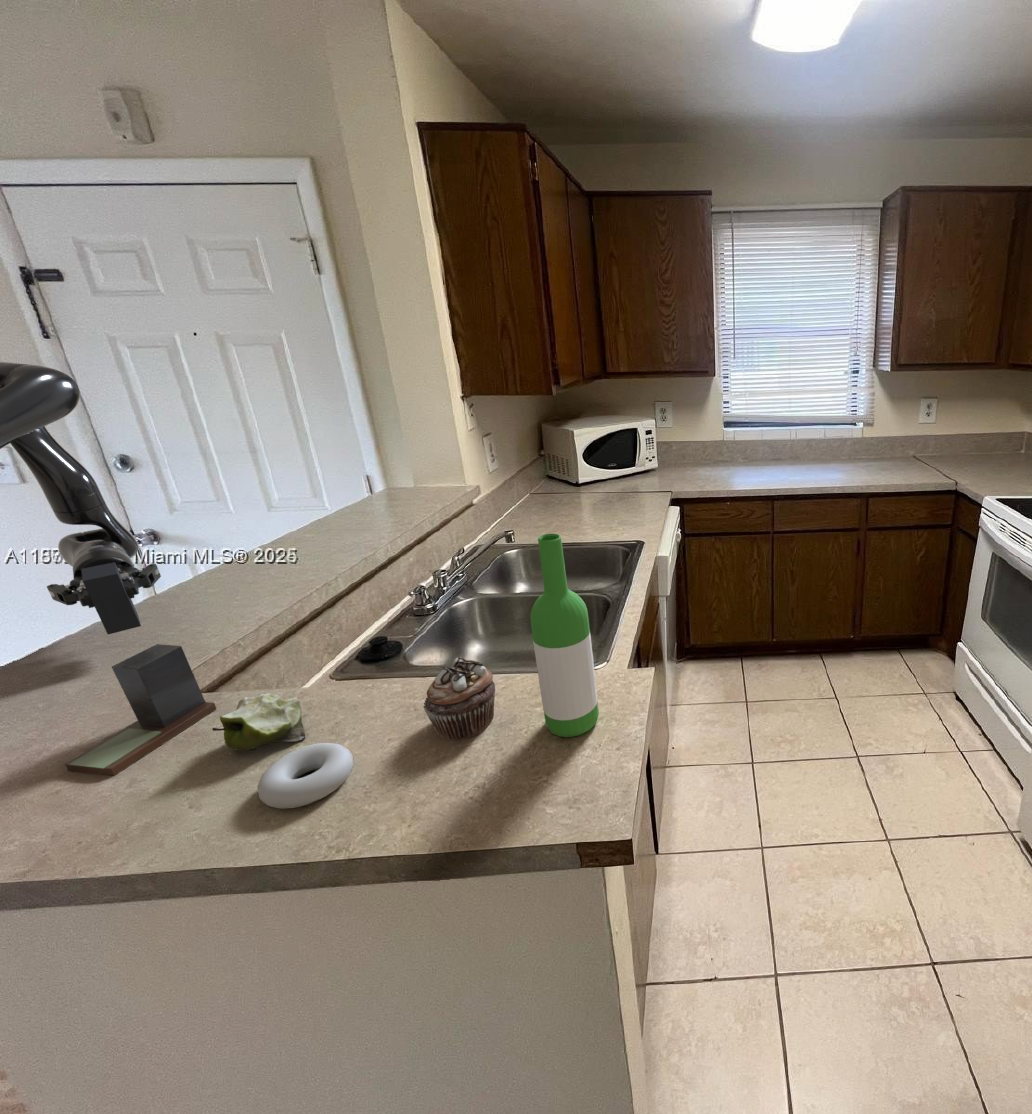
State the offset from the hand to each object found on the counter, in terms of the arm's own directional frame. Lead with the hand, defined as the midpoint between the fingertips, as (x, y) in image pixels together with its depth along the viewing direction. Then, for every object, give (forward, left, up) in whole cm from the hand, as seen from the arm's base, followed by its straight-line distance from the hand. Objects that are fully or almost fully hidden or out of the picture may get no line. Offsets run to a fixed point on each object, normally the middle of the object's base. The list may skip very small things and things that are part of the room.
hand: (110, 597), depth 95 cm
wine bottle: (+82, -6, -12) cm, 83 cm away
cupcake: (+66, -8, -12) cm, 67 cm away
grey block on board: (+23, -17, -12) cm, 31 cm away
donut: (+53, -22, -12) cm, 59 cm away
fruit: (+40, -15, -12) cm, 44 cm away
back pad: (-2, +1, -6) cm, 7 cm away
